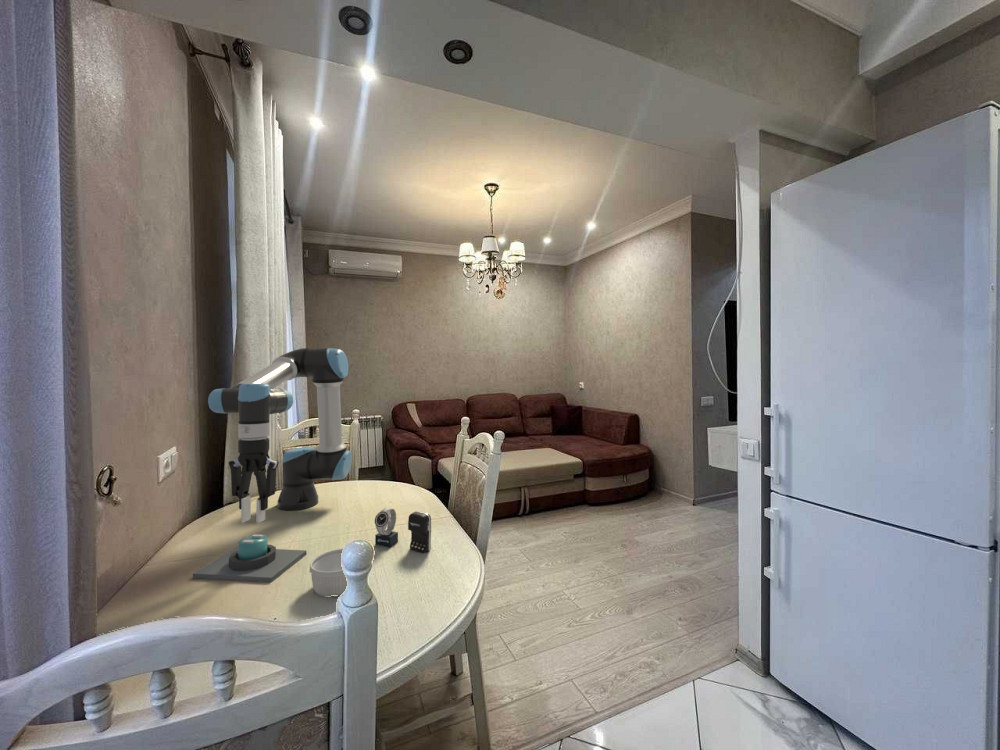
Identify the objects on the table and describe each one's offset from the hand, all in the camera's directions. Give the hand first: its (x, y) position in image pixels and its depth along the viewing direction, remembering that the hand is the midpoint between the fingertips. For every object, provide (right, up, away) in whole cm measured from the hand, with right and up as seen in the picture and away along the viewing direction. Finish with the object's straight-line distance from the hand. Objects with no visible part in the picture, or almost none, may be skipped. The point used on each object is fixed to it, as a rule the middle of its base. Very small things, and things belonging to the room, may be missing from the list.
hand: (253, 520), depth 112 cm
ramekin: (+28, -13, -10) cm, 33 cm away
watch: (+33, -13, +15) cm, 39 cm away
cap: (0, -11, 0) cm, 11 cm away
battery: (+45, -13, +11) cm, 48 cm away
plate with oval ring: (0, -13, 0) cm, 13 cm away
